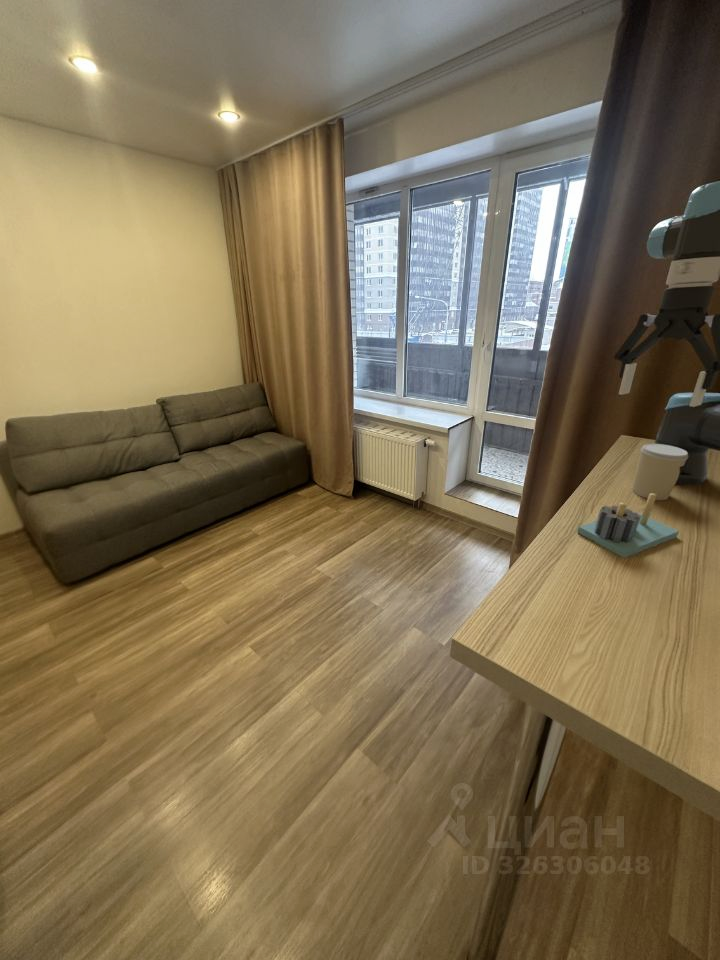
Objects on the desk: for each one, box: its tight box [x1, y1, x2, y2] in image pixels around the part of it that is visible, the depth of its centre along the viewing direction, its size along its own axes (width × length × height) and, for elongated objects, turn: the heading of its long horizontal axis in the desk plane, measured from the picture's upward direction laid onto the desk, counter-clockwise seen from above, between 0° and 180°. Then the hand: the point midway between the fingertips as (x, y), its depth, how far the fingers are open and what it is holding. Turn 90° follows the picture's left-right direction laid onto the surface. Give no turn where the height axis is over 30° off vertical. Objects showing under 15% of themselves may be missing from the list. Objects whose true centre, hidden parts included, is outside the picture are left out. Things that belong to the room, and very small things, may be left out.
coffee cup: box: [631, 443, 688, 501], centre depth 94 cm, size 9×9×12 cm
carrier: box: [577, 493, 680, 559], centre depth 77 cm, size 17×10×8 cm, turn 114°
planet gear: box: [594, 505, 639, 543], centre depth 75 cm, size 6×6×5 cm
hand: (656, 399), depth 79 cm, fingers open, 13 cm apart
